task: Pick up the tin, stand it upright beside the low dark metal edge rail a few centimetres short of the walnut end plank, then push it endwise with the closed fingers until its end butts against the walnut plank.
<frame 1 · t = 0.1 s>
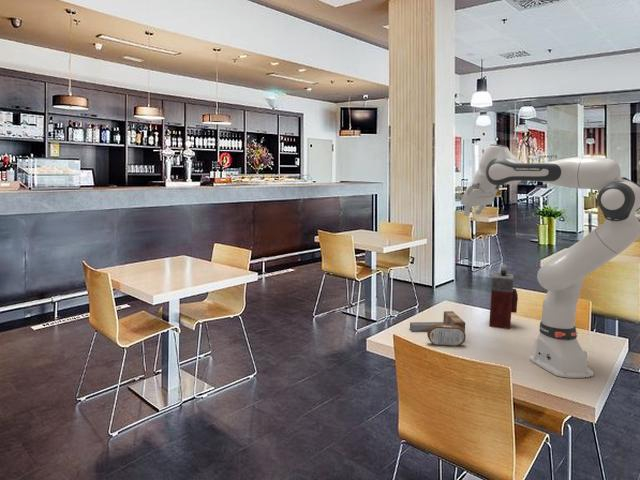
hand: (471, 214, 201), 52 cm above the table, tool tilted 20°, fingers open, 8 cm apart
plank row: (434, 333, 211), on the table
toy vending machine: (502, 325, 223), on the table
tin: (445, 345, 197), on the table
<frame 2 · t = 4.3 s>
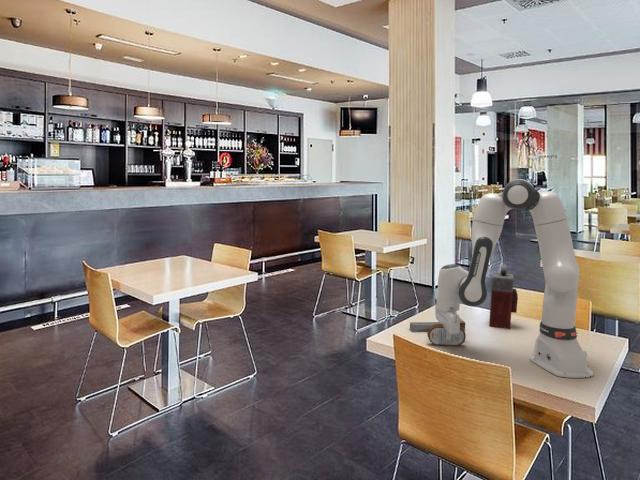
hand: (446, 337, 196), 3 cm above the table, tool pointing down, fingers closed on tin, 3 cm apart
tin: (446, 345, 197), on the table, touching gripper
everything else where it was.
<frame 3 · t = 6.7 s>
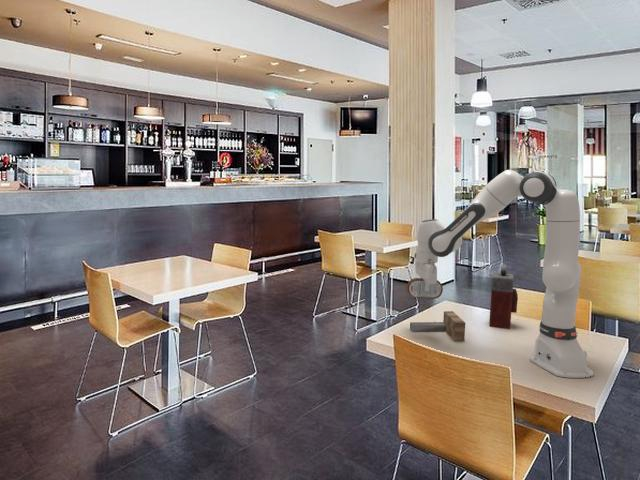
hand: (425, 289, 206), 20 cm above the table, tool pointing down, fingers closed on tin, 3 cm apart
tin: (424, 298, 206), point 16 cm above the table, touching gripper
everything else where it was.
when the fingers open (4 cm above the table, at t = 9.4 s): tin moves 1 cm, on the table.
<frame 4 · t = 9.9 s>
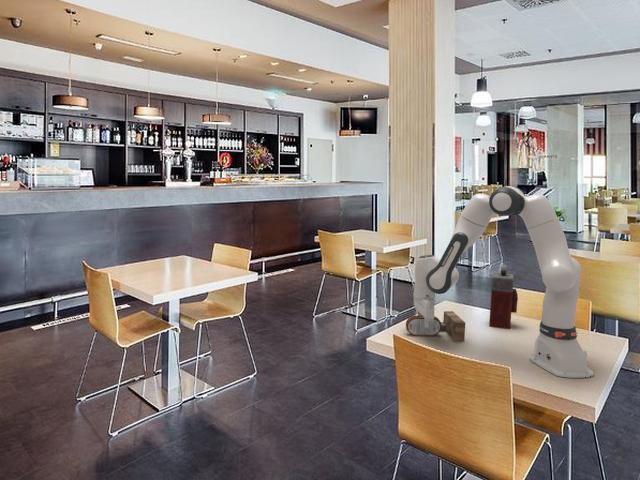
hand: (423, 323, 209), 5 cm above the table, tool pointing down, fingers open, 8 cm apart
tin: (423, 335, 208), on the table
everything else where it was.
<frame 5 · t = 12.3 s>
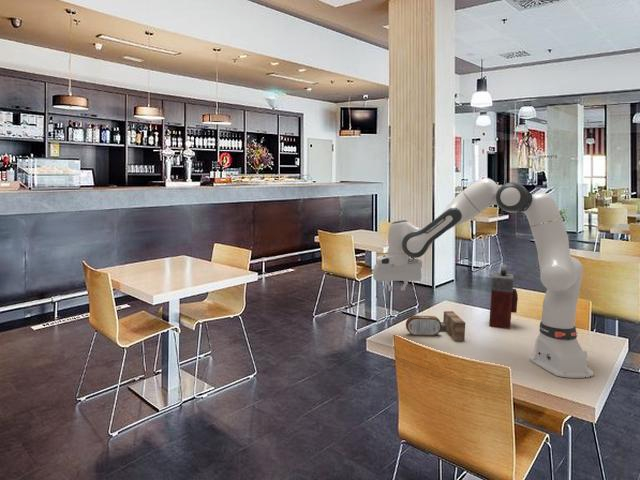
hand: (396, 290, 206), 19 cm above the table, tool pointing down, fingers open, 4 cm apart
nothing on the table moved.
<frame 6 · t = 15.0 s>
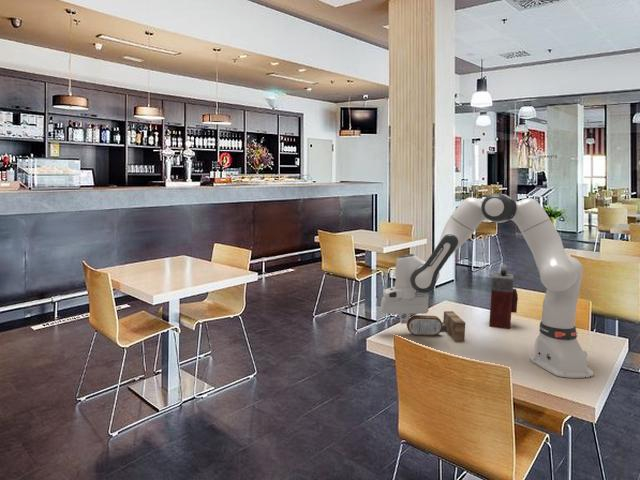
hand: (403, 323, 208), 5 cm above the table, tool pointing down, fingers closed
tin: (424, 335, 208), on the table, touching gripper
everything else where it was.
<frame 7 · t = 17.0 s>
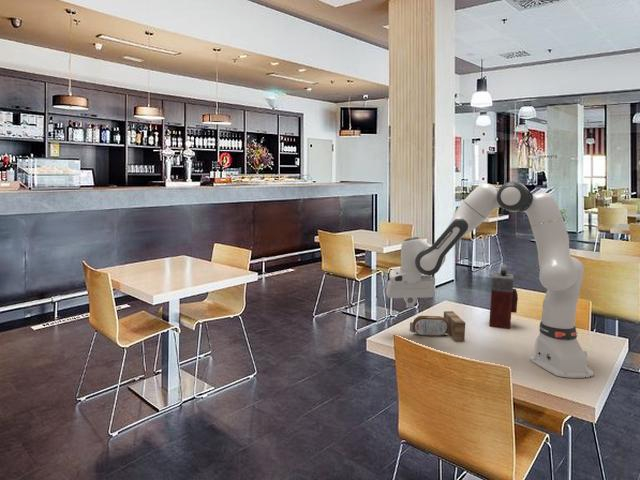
hand: (410, 307, 206), 12 cm above the table, tool pointing down, fingers closed
tin: (430, 335, 208), on the table
everything else where it was.
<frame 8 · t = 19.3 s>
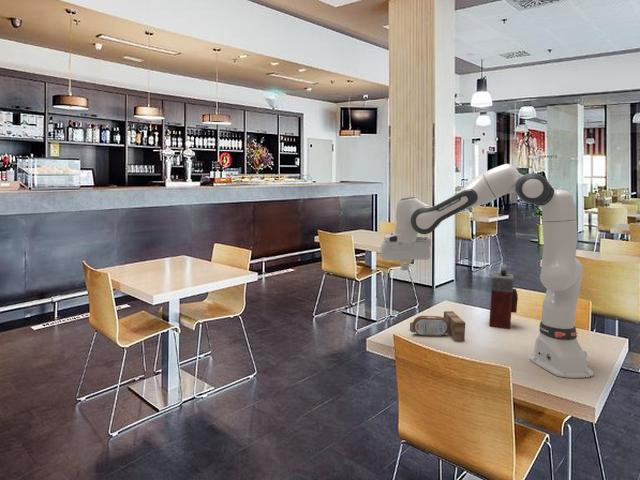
hand: (404, 270, 200), 29 cm above the table, tool pointing down, fingers closed
nothing on the table moved.
at the end: tin 2.2 cm from the target spot, on the table; tin tilted 0°; the gripper is holding nothing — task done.
